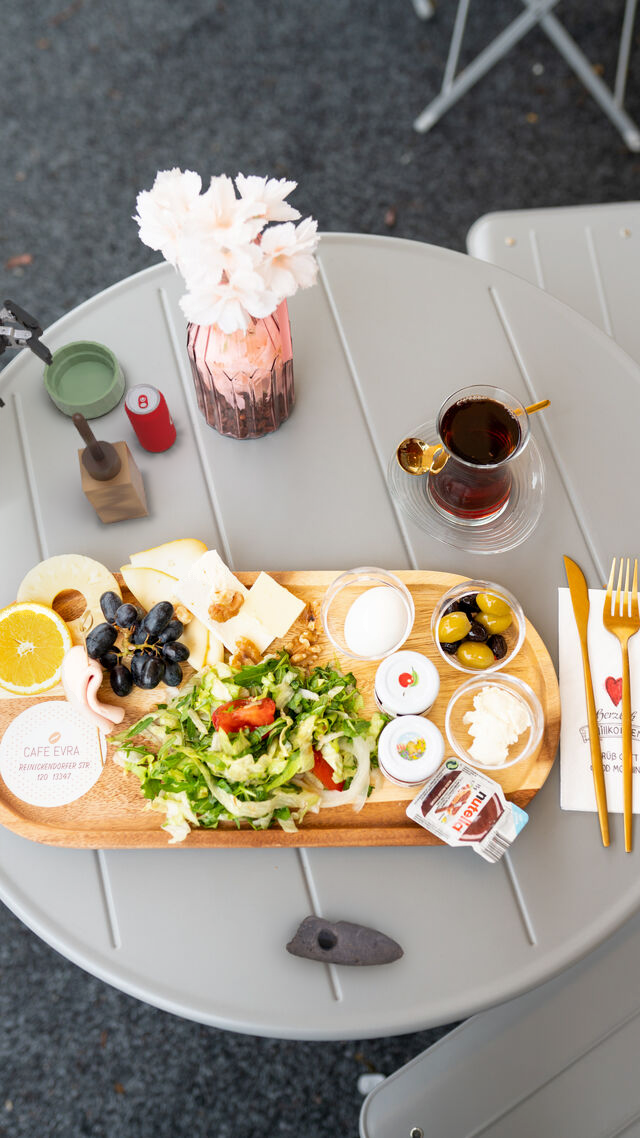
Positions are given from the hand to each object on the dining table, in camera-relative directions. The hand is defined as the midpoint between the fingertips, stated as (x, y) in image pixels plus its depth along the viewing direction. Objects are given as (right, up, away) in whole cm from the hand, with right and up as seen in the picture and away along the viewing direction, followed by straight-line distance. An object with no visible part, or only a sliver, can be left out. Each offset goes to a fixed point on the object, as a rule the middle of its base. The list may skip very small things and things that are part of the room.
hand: (25, 382), depth 109 cm
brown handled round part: (+8, -10, +11) cm, 16 cm away
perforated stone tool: (+42, -74, 0) cm, 85 cm away
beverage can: (+12, -3, +26) cm, 29 cm away
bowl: (0, +5, +29) cm, 29 cm away
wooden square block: (+8, -14, +22) cm, 27 cm away
